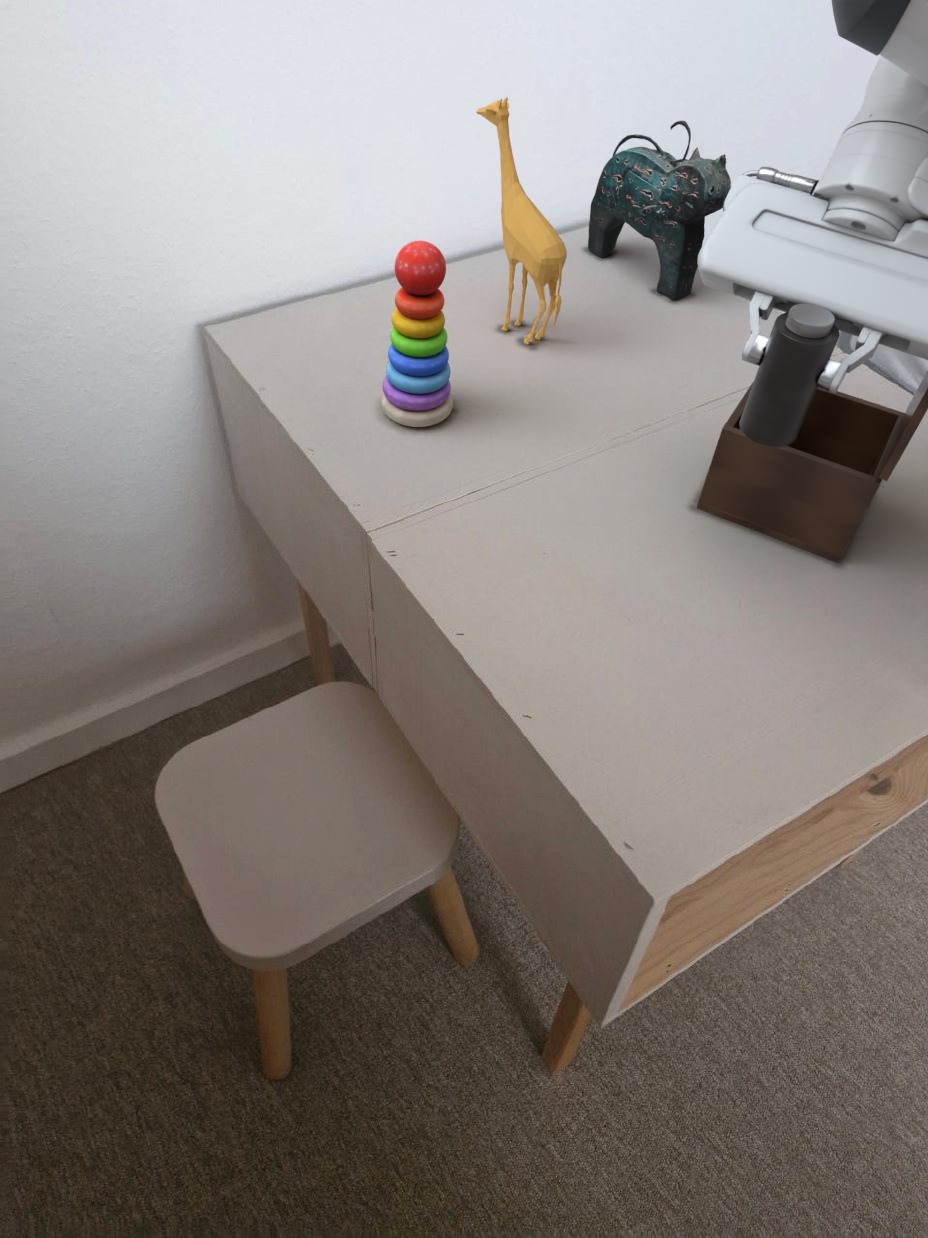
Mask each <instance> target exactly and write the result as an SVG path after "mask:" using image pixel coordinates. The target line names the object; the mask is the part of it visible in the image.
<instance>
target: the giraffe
mask: <svg viewBox="0 0 928 1238" xmlns="http://www.w3.org/2000/svg"><path fill="white" fill-rule="evenodd" d="M508 101H509V98H508V96H506V97H505V98H504V99H503V98H502V97H501V98H500V99H498V100H496V101H493V102H491V103H489V104H487V105H486V106H483V107H480V108H477V110H476V111H475V113H476V114H477V115H480V116H481V117H483V118H484V119H486V120H487V121H488V122H490V123H491V124H492V125H494V126H495V127H496V132H497V138H498V145H499V146H498V147H499V157H500V158H499V160H500V186H501V187H500V191H501V193H500V194H501V204H500V205H501V206H500V216H501V217H500V219H501V231H502V243H503V248H504V251H505V254H506V257H507V260H508V285H507V289H508V295H507V306H506V308H507V309H506V314H505V318H504V322H503V326H502V327H501V330H502V331H503V332H508V331H509V326H510V324H511V311H512V300H513V292H514V289H515V285H514V284H515V283H514V281H515V274H516V273H515V272H516V265H518V263H521V265H522V267H521V268H522V270H521V286H522V287H521V288H522V289H521V290H522V291H521V299H520V306H519V310H518V315H517V319H516V321H515V322H514V326H516V327H520V326H521V325H522V321H523V319H524V308H525V299H526V293H527V287H528V282H529V281H528V275H529V277H530V278H531V279H532V281H533V284H534V287H535V290H536V293H537V296H538V300H539V308H538V310H537V314H536V318H535V321H534V323H533V326H532V328H531V330H530V332H529V333H528V334H527V335H526V337H524V340H523V344H525V345H528V346H529V345H531V342H534V338H535V340H538V341H541V338H543V337H545V335H546V329H547V326H548V324H549V321H550V318H551V316H552V314H553V313H554V321H553V327H556V322H557V319H558V316H559V313H560V311H561V305H562V298H561V294H560V292H561V285H562V275H563V268H564V266H565V263H566V260H567V255H568V253H567V252H568V251H567V248H566V245H565V242H564V241H563V239H562V238H561V236H560V235H559V233H558V232H557V231H556V230H555V227H554V226H553V225H552V224H551V223H550V222H549V220H548V219H547V218H546V216H545V215H543V213H542V212H541V211H540V209H539V208H538V207H537V205H535V203H534V202H533V201H532V199H530V197H529V196H528V195H527V194H526V192H525V190H524V188H523V186H522V185H521V182H520V179H519V175H518V172H517V169H516V163H515V158H514V154H513V149H512V144H511V143H512V142H511V138H510V125H509V118H510V112H509V108H510V103H509V102H508ZM557 284H558V285H557ZM546 285H547V286H548V291H549V292H548V293H549V299H550V300H549V304H548V305H549V306H548V309H547V302H546V296H545V286H546ZM546 310H547V314H546V316H545V319H544V321H543V324H542V326H541V328H539V329H538V331H537V333H536V330H537V328H538V325H539V323H540V320H541V319H542V317H543V315H544V313H545V312H546ZM554 310H555V311H554Z"/></svg>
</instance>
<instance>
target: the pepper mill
mask: <svg viewBox="0 0 928 1238" xmlns="http://www.w3.org/2000/svg"><path fill="white" fill-rule="evenodd" d="M834 322H835V317H834V315H833V314H832V313H831V312H830V311H829V310H827V309H825V308H823V307H821V306H817V305H813V304H797V305H794V306H793V307H792V308H791V309H790V310H789V312H782V313H781V314H779V315H778V316H777V317H775V320H774V323H773V326H772V329H771V332H770V335H769V336H768V338H769V340H768V343H767V346H766V348H765V351H764V354H763V357H762V360H761V363H760V365H759V366H758V369H757V371H756V374H755V377H754V380H753V381H754V382H753V381H752V383H753V385H752V388H751V391H750V394H749V397H748V399H747V402H746V405H745V408H744V411H743V414H742V416H741V419H740V423H739V426H740V429H741V431H742V433H743V434H744V435H745V436H746V437H748V438H749V439H750V440H752V441H754V442H756V443H759V444H762V445H765V446H770V447H782V446H787V445H789V444H791V443H793V442H794V441H795V440H796V438H797V436H798V433H799V431H800V429H801V426H802V424H803V421H804V419H805V417H806V414H807V412H808V410H809V407H810V405H811V402H812V400H813V398H814V395H815V393H816V391H817V388H818V387H817V385H818V384H817V382H818V380H819V377H820V375H821V373H823V372H824V371H825V366H826V365H827V363H828V361H829V359H831V358H832V355H833V353H834V350H835V348H836V346H837V343H838V341H839V339H840V331H839V329H838V328H837V326H836V325H835V324H834Z"/></svg>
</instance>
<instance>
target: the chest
mask: <svg viewBox="0 0 928 1238" xmlns="http://www.w3.org/2000/svg"><path fill="white" fill-rule="evenodd" d="M753 382H754V380H753V381H752V383H751V384H750V386H749V387H748V389H747V390H746V392H745V394H744V395H743V397H742V398H741V400H740V401H739V402H738V404H737V406H736V407H735V408H734V410H733V411H732V413H731V414H730V416H729V418H727V421H726V422H725V424H724V425H723V427H721V431H720V434H719V437H718V440H717V443H716V445H715V446H716V447H715V449H714V451H713V452H714V453H713V456H712V458H711V461H710V465H709V468H708V469H707V470H708V471H707V474H706V477H705V480H704V483H703V486H702V490H701V492H700V495H699V498H698V501H697V504H696V509H699V510H702V511H704V512H707V513H709V514H712V515H715V516H717V517H719V518H722V519H724V520H727V521H730V522H733V523H736V524H738V525H740V526H743V527H745V528H748V529H751V530H753V531H756V532H758V533H761V534H764V535H766V536H769V537H772V538H774V539H777V540H779V541H782V542H783V543H787V544H789V545H792V546H794V547H797V548H800V549H802V550H804V551H808V552H810V553H813V554H815V555H818V556H820V557H823V558H825V559H828V560H830V561H833V562H835V563H840V561H841V559H842V558H843V556H844V553H845V552H846V550H847V548H848V546H849V544H850V543H851V540H852V538H853V536H854V535H855V533H856V531H857V529H858V527H859V525H860V523H861V521H862V519H863V518H864V516H865V514H866V512H867V510H868V508H869V506H870V504H871V503H872V500H873V499H874V497H875V495H876V493H877V492H878V489H879V487H880V486H881V484H882V481H883V480H882V479H879V478H878V477H879V475H880V472H881V470H882V468H883V465H884V463H885V460H886V458H887V455H888V453H889V451H890V448H891V446H892V443H893V441H894V439H895V436H896V434H897V431H898V429H899V427H900V424H901V422H902V419H903V417H904V415H905V412H903V411H900V410H897V409H894V408H890V407H887V406H885V405H881V404H879V403H876V402H872V401H869V400H866V399H863V398H859V397H858V396H854V395H850V394H847V393H844V392H841V391H839V390H838V391H837V392H836V393H833V392H829V391H827V390H825V389H822V388H819V387H818V388H817V391H816V393H815V395H814V398H813V400H812V402H811V405H810V407H809V410H808V412H807V414H806V417H805V419H804V421H803V424H802V426H801V429H800V431H799V433H798V436H797V438H796V440H795V441H794V442H793V443H791V444H789V445H787V446H782V447H770V446H765V445H762V444H759V443H756V442H754V441H752V440H750V439H749V438H748V437H746V436H745V435H744V434H743V433H742V431H741V429H740V426H739V423H740V419H741V416H742V414H743V411H744V408H745V405H746V402H747V399H748V397H749V394H750V391H751V388H752V385H753Z"/></svg>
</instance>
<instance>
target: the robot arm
mask: <svg viewBox="0 0 928 1238" xmlns="http://www.w3.org/2000/svg"><path fill="white" fill-rule="evenodd" d="M831 8H832V13H833V20H834V23H835V27H836V32H837V35H838V37H840V38H842V39H844V40H846V41H847V42H850V43H852V44H853V45H855V46H857V47H860V48H861V49H863V50H865V51H867V52H869V53H870V54H872V55H874V56H876V57H878V56H879V58H878V60H877V62H876V64H875V66H874V68H873V70H872V72H871V74H870V75H869V78H868V81H867V84H866V86H865V91H864V98H863V101H862V104H861V106H860V108H859V111H858V112H857V113H856V115H855V116H854V117H853V118H852V120H851V121H849V123H848V124H847V125H846V127H845V128H844V129H843V131H842V133H841V135H840V137H839V139H838V141H837V142H836V145H835V147H834V148H833V151H832V153H831V154H830V157H829V159H828V161H827V162H826V165H825V167H824V169H823V171H822V174H821V176H820V177H819V179H814V178H812V177H811V178H810V177H807V176H803V175H798V174H794V173H787V172H782V171H779V169H778V168H774V167H770V166H760V168H759V169H758V170H757V169H754V170H749V171H746V172H743V173H742V174H740V175H738V176H737V177H736V178H735V179H734V181H733V182H732V183H731V188H730V190H729V192H728V194H727V197H726V199H725V201H724V204H723V208H722V213H721V214H720V215H719V217H718V219H717V221H716V222H715V224H714V225H713V227H712V229H710V232H709V234H708V235H707V237H706V239H705V240H704V241H703V244H702V248H701V250H700V252H699V254H698V260H697V262H698V268H697V270H698V272H699V276H700V278H701V281H702V283H703V284H704V286H706V287H709V288H711V289H714V290H717V291H719V292H724V293H727V294H730V295H731V296H734V297H738V298H741V299H743V300H744V299H745V300H748V301H750V302H749V305H748V312H749V326H750V335H749V338H748V339H747V341H746V343H745V346H744V348H743V350H742V353H741V360H742V361H744V362H747V363H750V364H752V365H755V366H758V367H759V365H760V363H761V360H762V357H763V354H764V351H765V348H766V346H767V343H768V340H769V337H767V336H765V335H762V334H761V320H763V321H767V320H769V318H770V315H772V312H773V310H777V311H780V312H782V313H786V312H789V310H790V309H791V308H792V307H793V306H794V305H797V304H813V305H817V306H821V307H823V308H825V309H827V310H829V311H830V312H831V313H832V314H833V315H834V317H835V322H834V324H835V325H836V326H837V328H838V329H839V332H841V333H842V332H843V333H846V334H848V335H851V336H855V337H857V339H856V342H855V345H854V351H853V352H852V353H850V354H849V355H847V356H846V357H845V358H843V359H842V360H841V361H837V360H834V359H831V358H830V359H829V361H828V363H827V365H826V366H825V371H824V372H823V373H821V375H820V377H819V380H818V382H817V384H818V385H817V387H819V388H822V389H825V390H827V391H829V392H833V393H836V392H837V391H839V389H840V387H841V385H842V384H843V381H844V380H845V377H846V375H847V374H850V373H851V372H853V371H854V370H855V369H857V368H858V367H860V366H861V365H863V364H864V363H865V362H867V361H868V360H870V359H872V358H873V357H874V354H875V352H876V350H877V348H878V346H879V345H881V346H884V347H888V348H891V349H894V350H897V351H899V352H901V353H905V354H908V355H911V356H915V357H917V358H921V359H924V360H926V361H928V0H831ZM760 319H761V320H760Z"/></svg>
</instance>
